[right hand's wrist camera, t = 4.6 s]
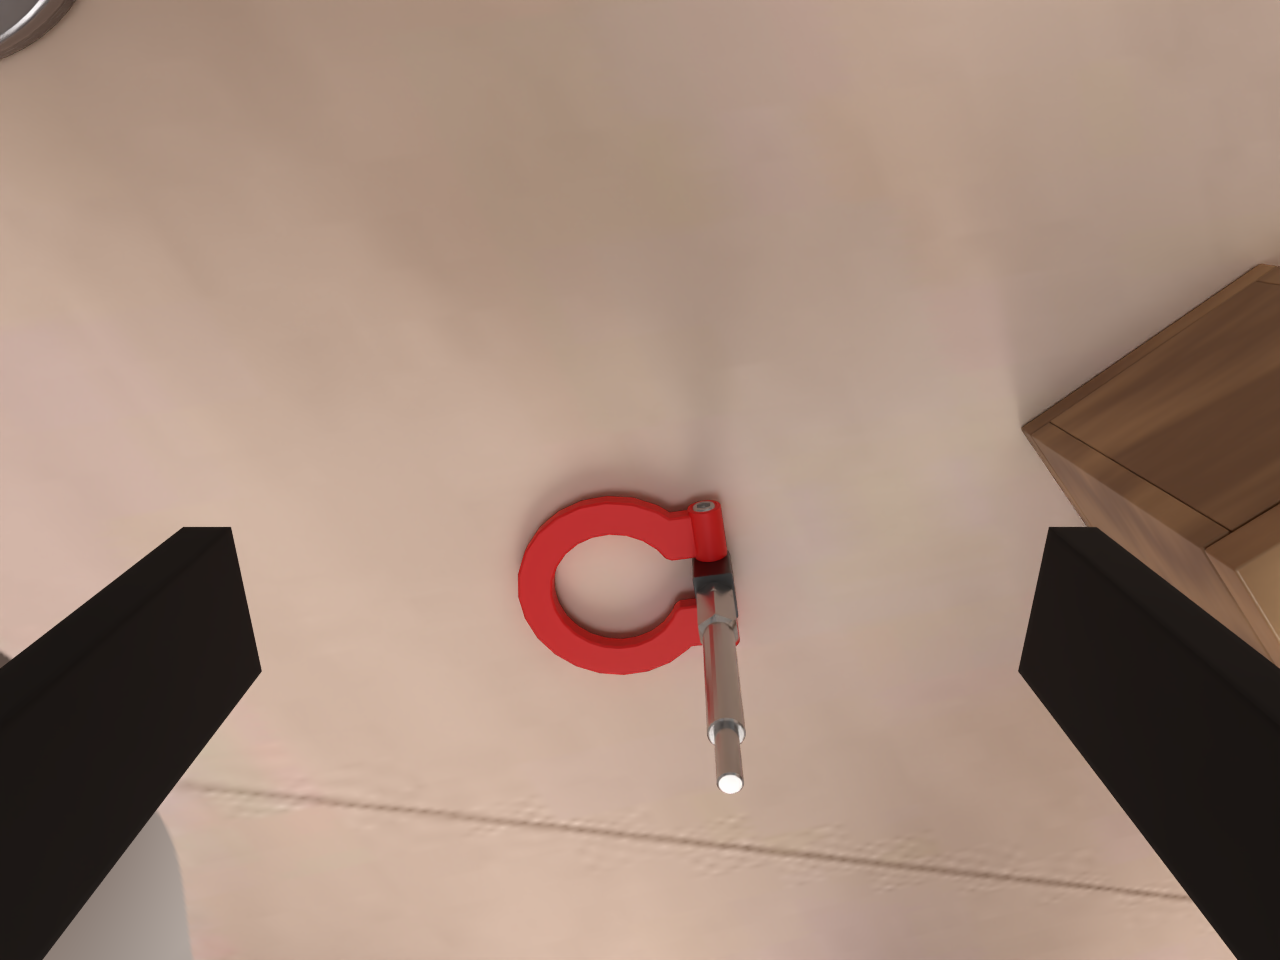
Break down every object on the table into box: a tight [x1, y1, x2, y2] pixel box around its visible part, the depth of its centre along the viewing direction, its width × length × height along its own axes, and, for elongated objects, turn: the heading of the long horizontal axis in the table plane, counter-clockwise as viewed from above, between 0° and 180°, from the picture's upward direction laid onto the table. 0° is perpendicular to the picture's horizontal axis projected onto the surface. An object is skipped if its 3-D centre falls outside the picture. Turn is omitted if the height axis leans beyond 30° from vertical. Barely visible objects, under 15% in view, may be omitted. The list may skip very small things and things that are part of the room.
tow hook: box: [518, 496, 746, 794], centre depth 28 cm, size 8×13×9 cm
